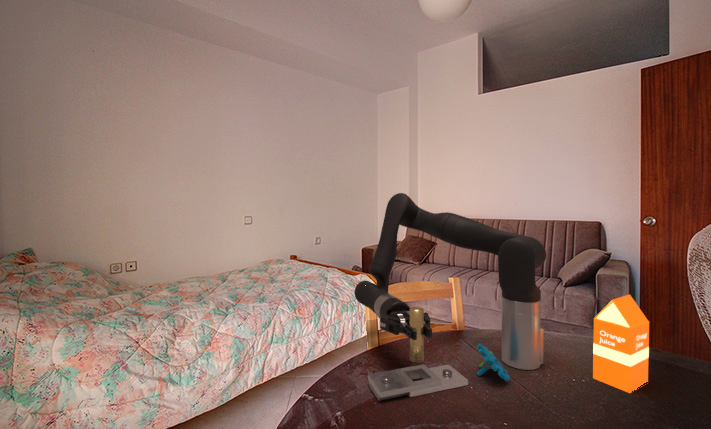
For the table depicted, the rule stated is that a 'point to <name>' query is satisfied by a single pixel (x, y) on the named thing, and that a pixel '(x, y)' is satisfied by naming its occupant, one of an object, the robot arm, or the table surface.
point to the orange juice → (621, 345)
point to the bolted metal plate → (402, 384)
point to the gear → (491, 363)
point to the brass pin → (418, 325)
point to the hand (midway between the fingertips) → (422, 334)
